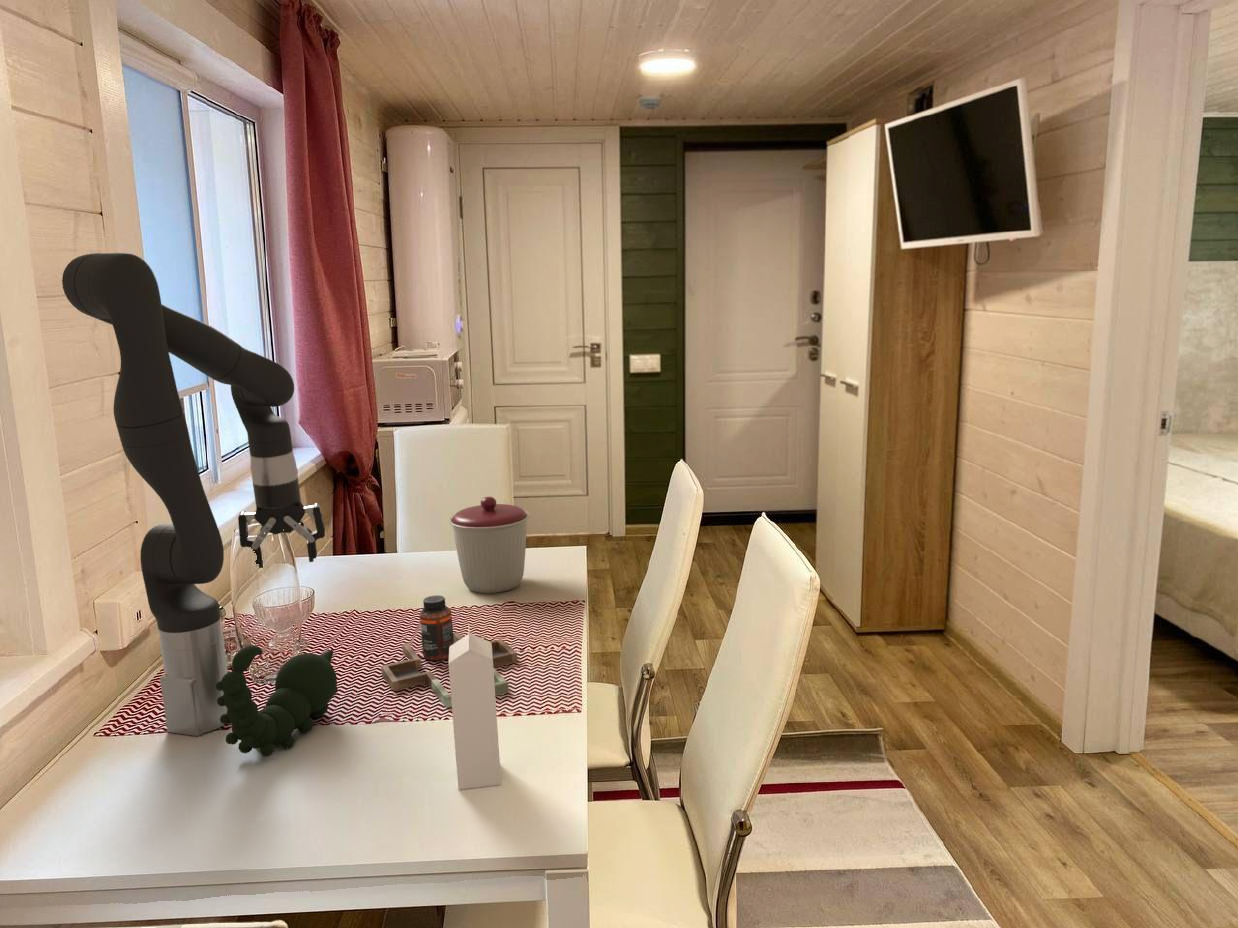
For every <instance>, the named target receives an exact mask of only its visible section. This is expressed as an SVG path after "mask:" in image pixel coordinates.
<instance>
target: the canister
mask: <svg viewBox="0 0 1238 928" xmlns="http://www.w3.org/2000/svg"><path fill="white" fill-rule="evenodd" d="M530 517H531V516H530V512H528V511H527V510H525V509H523V508H521V507H520V506H517V505H512V504H507V503H505V504H504V503H503V504H502V503H497V500H496V499H495V497H493V496H485V497H483V498H482V499H481V500H480V505H474V506H470V507H466V508H463V509H461V510H459V511H457V512H456V513H455V514H453V515H452V516H450V518H449V519H448V523H449V525H451V527H452V530H453V532H452V533H453V537H454V542H455V548H456V549H455V550H456V554H457V559H458V563H459V568H460V573H461V577H462V580H463V583H464V585H465V586H466V587H467V588H468V589H469V590H471V591H473V592H476V593H480V594H481V593H482V594H495V593H496V594H497V593H503V592H507V591H511V590H513V589H515V588H516V587H518V586H519V585H520V584H521V582H522V580H523V578H524V573H525V572H524V571H525V563H526V562H525V561H526V547H527V546H526V545H527V542H526V541H527V528H528V527H527V526H528V524H527V522H528V520H529V519H530Z"/></svg>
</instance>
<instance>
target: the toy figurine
mask: <svg viewBox="0 0 1238 928" xmlns="http://www.w3.org/2000/svg"><path fill="white" fill-rule="evenodd" d="M263 653H264V651H263V650H262V648H261V647H259V646H258V645H246V646H244V647H243V648H241V649H240V650H238V651H237V653H236V654H235V655H234V657H233V658H232V661H231V668H232V670H231V671H228V673H227V674H225V675H224V676H223V678H222V679H221V681H219V682H217V684H216V689H217V690H219V691H223V692H224V694H223V696H220V697H219V698H218V699H217V703H218V705H219V706H226V707H227V714H223V715H222V716H221V717H220V722H221V723H223V724H225V725H227V724H229V723H230V724H231V732H228V734H227V735H226V737H225V742H226V744H228V745H236V744H237V743H238V741H240V742H239V743H238V747H237V749H238V750H239V752H241V754H248V753H250V752H252V751H253V749H254V750H259V753H260V754H261V755H262V756H263V757H269V756H271V755H273V753H274V752H275V747H277V746H281V747H282V749H291V748H293V747H294V746H295V743H296V739H295V737H294V735H293V733H294V731H295V730H298V732H300V733H301V734H307V733H309V732H311V731H312V730H313V729H314V725H315V724H314V720H313V719H312V718H311V717H313V718H319V717H321V716H324V715H325V714H326V713H327V712H328V710H329V703H330V702H331V700H332V699H333V697H335V695H337V693H338V691H339V690H338V677H337V672H336V671H335V668H334V666H333V665H332V660H333V657H334V650H333V649H329V650H327V651H325V652H323V653H321V654H317V653H311V652H309V653H307V652H306V653H300V654H297V655H294V656H293V657H290V659H288V660H287V661H286V662H284V664H283V665H282V666H281V667H280V669H279V670H278V671H277V674H276V678H275V681H274V692H272V694H270V695H269V697H268V699H267V700H266V703H265V704H264V705H265V706H264V707H263V708H262V709H261V710H259V708H258V705H257V702H255V701H254V700H253V693H252V691H251V688H250V687H249V686H248V685H247V677H246V676H245V675H244V674H243V673H244V672H246V671H247V670H248V669H249V668H250V667H251V665H252V662H253V661H254V659H255V658H256V656H262V655H263Z"/></svg>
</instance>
